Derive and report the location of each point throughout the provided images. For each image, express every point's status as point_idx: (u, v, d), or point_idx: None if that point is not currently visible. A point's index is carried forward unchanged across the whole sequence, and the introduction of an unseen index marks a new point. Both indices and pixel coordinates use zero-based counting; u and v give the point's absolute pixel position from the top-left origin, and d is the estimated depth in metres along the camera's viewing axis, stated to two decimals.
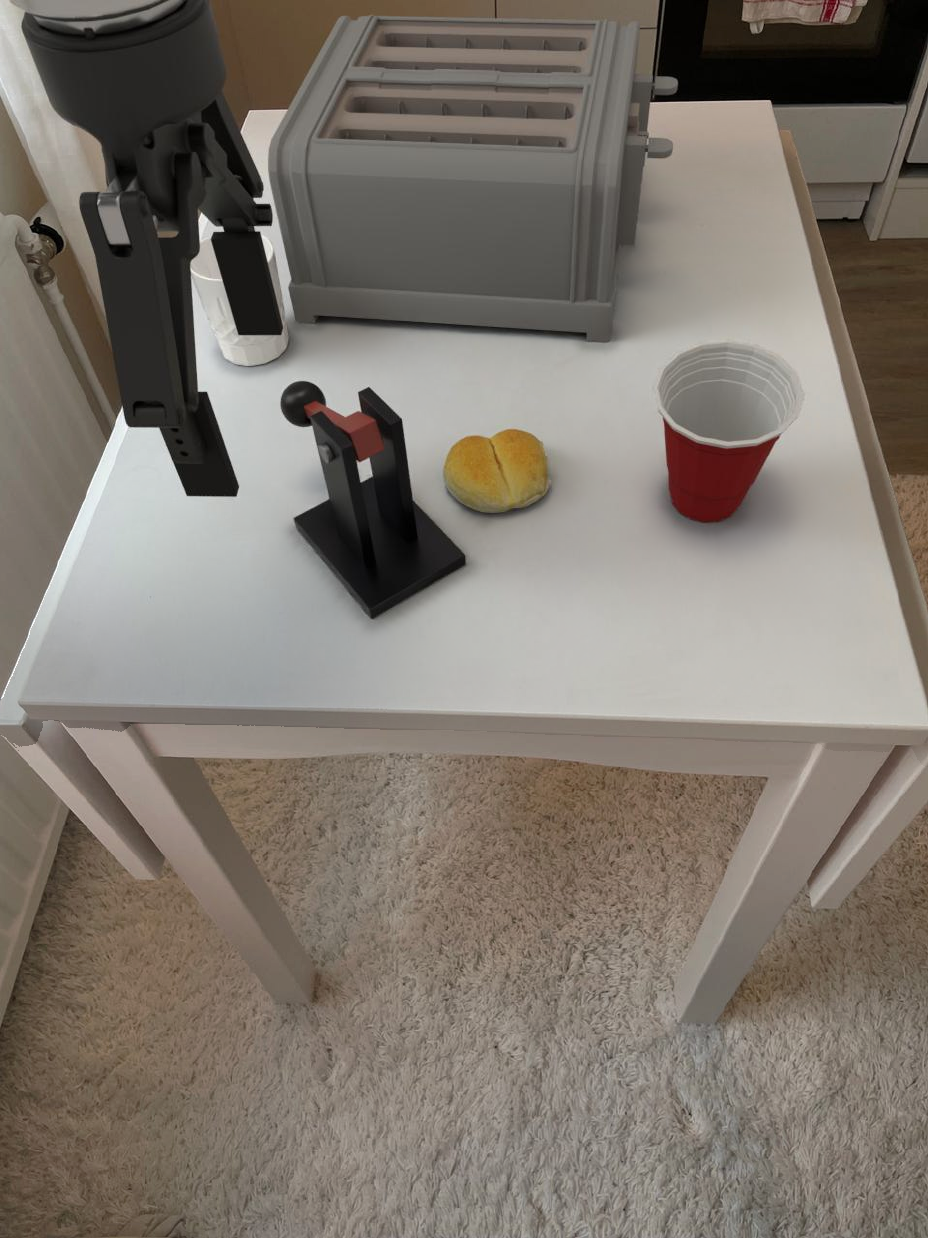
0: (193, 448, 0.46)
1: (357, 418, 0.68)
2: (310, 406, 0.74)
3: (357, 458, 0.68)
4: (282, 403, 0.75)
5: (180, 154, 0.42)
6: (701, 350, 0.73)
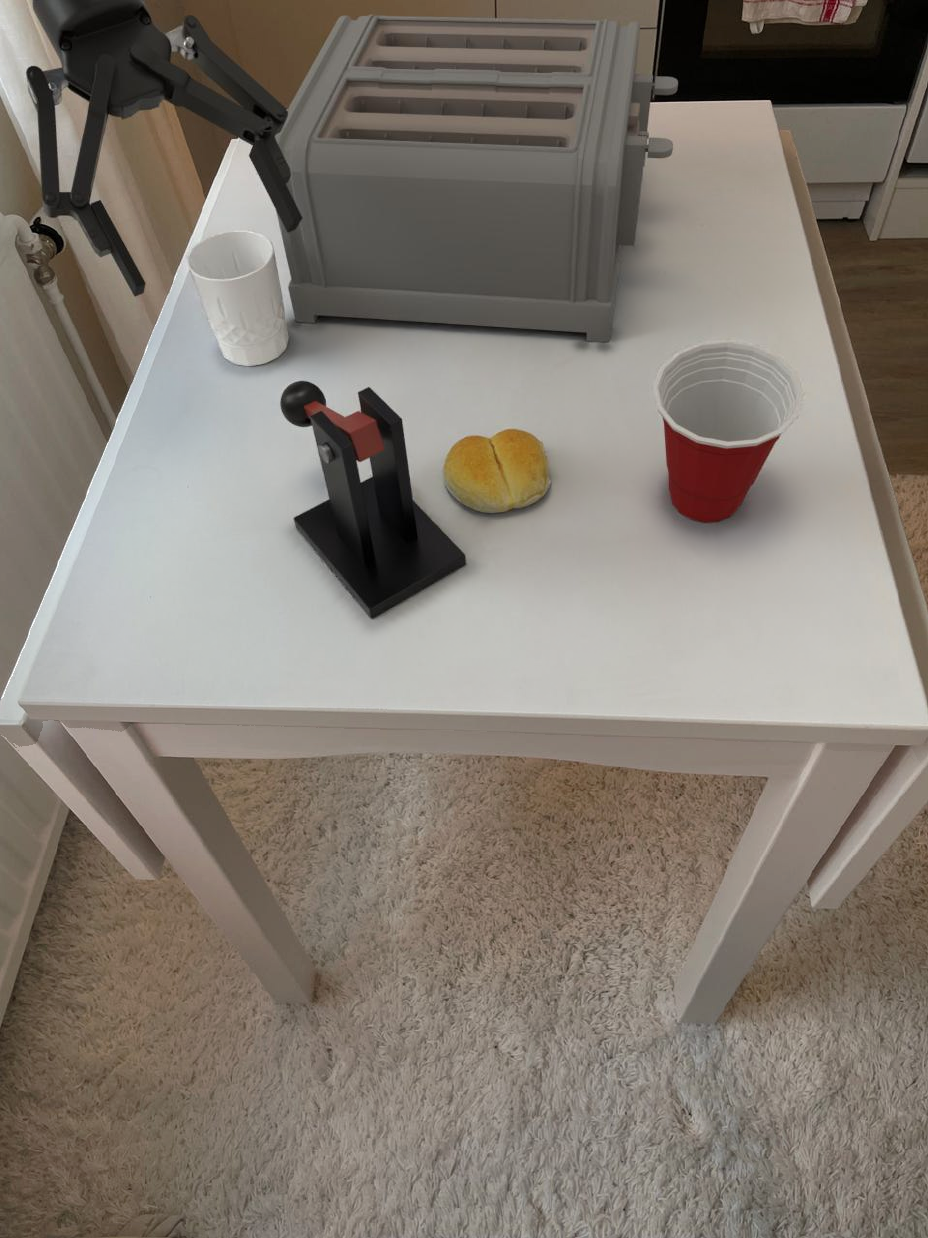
0: (90, 237, 0.71)
1: (357, 418, 0.68)
2: (310, 406, 0.74)
3: (357, 458, 0.68)
4: (282, 403, 0.75)
5: None
6: (701, 350, 0.73)
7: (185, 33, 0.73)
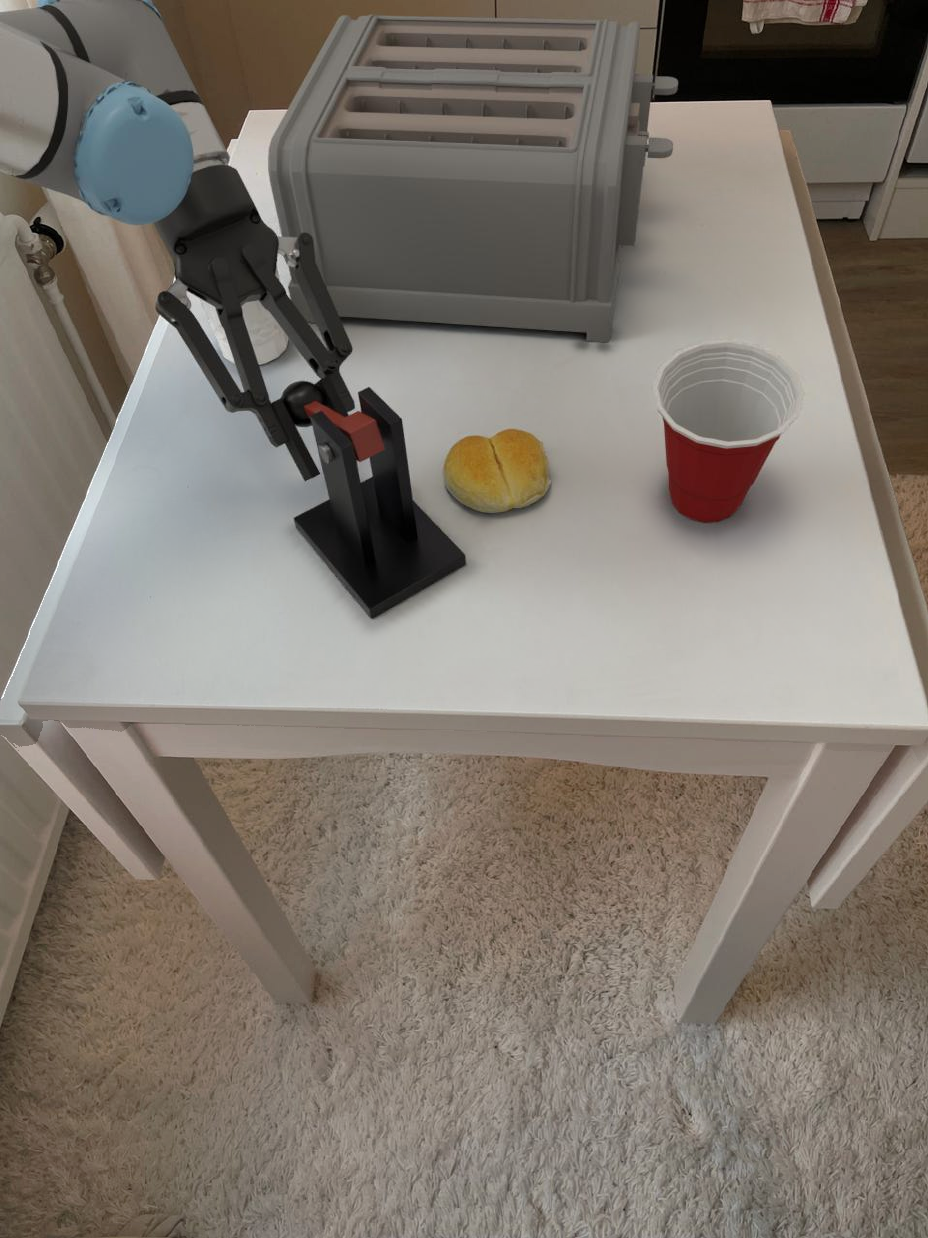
0: (269, 432, 0.74)
1: (357, 418, 0.68)
2: (310, 406, 0.74)
3: (357, 458, 0.68)
4: None
5: None
6: (701, 350, 0.73)
7: (296, 245, 0.75)
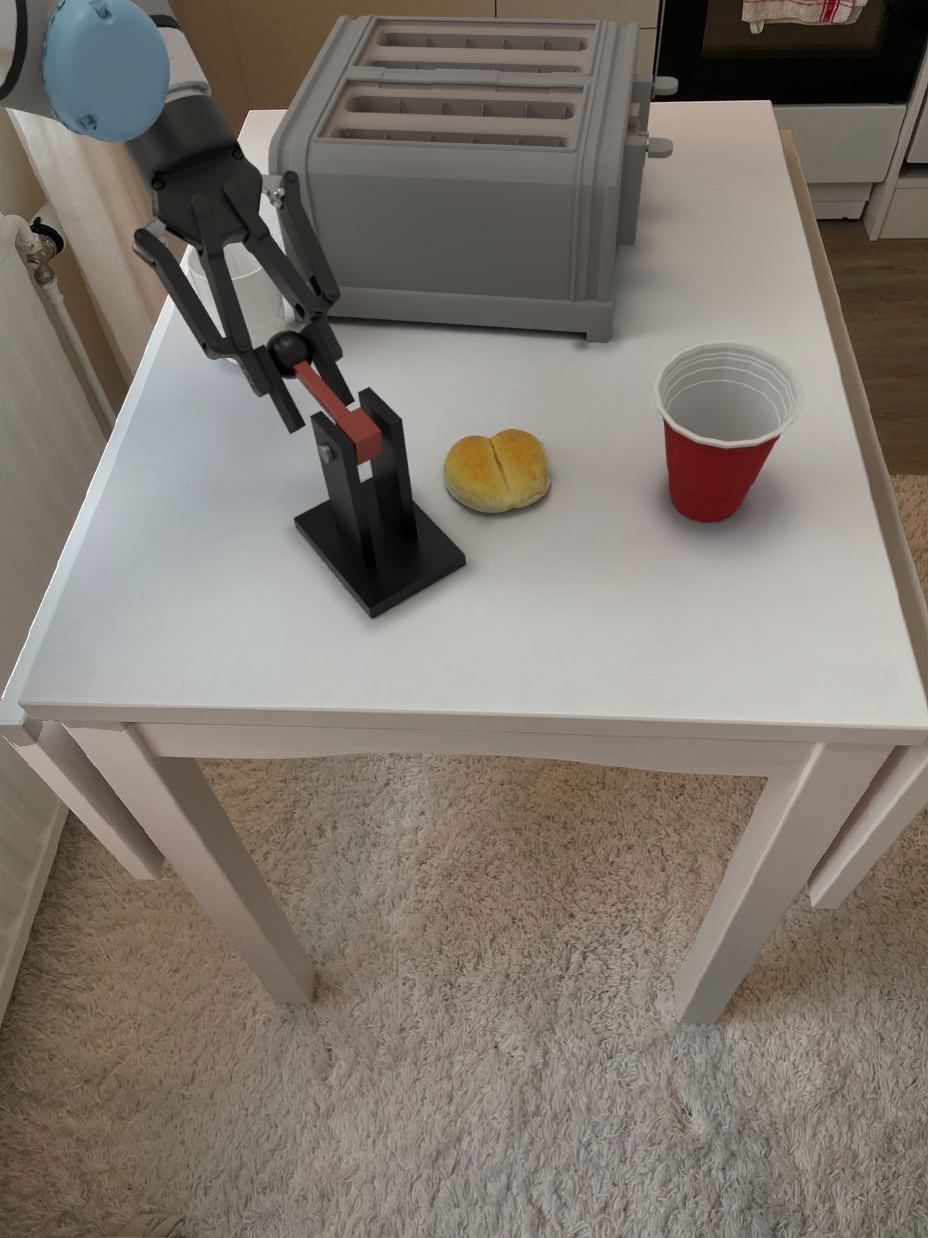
0: (252, 380, 0.71)
1: (361, 421, 0.67)
2: (300, 369, 0.71)
3: None
4: None
5: None
6: (701, 350, 0.73)
7: (281, 183, 0.71)
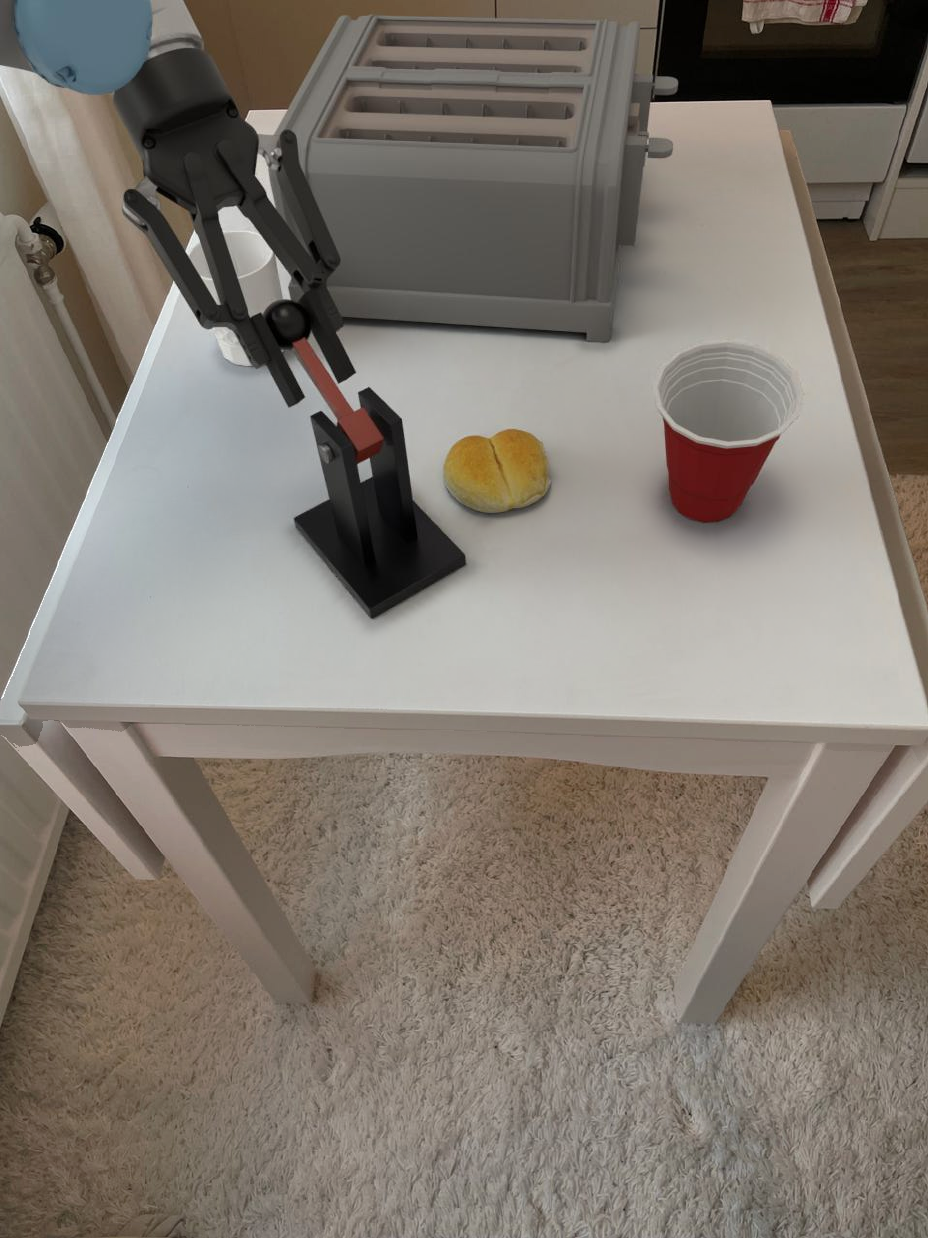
0: (249, 350, 0.67)
1: (364, 425, 0.67)
2: (300, 349, 0.69)
3: None
4: None
5: None
6: (701, 350, 0.73)
7: (278, 144, 0.68)
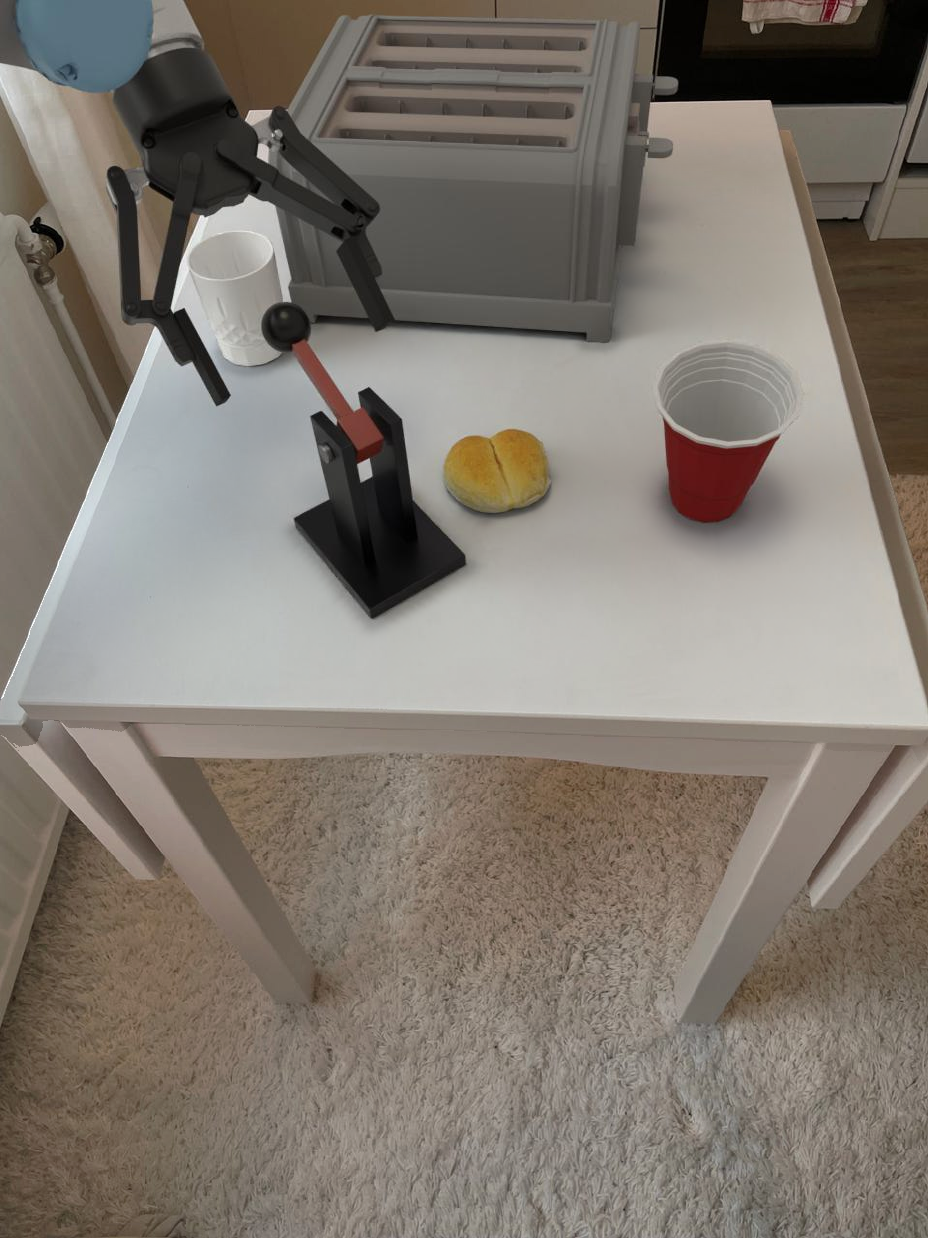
0: (172, 347, 0.66)
1: (364, 424, 0.67)
2: (299, 350, 0.69)
3: None
4: (267, 330, 0.69)
5: None
6: (701, 350, 0.73)
7: (272, 125, 0.68)
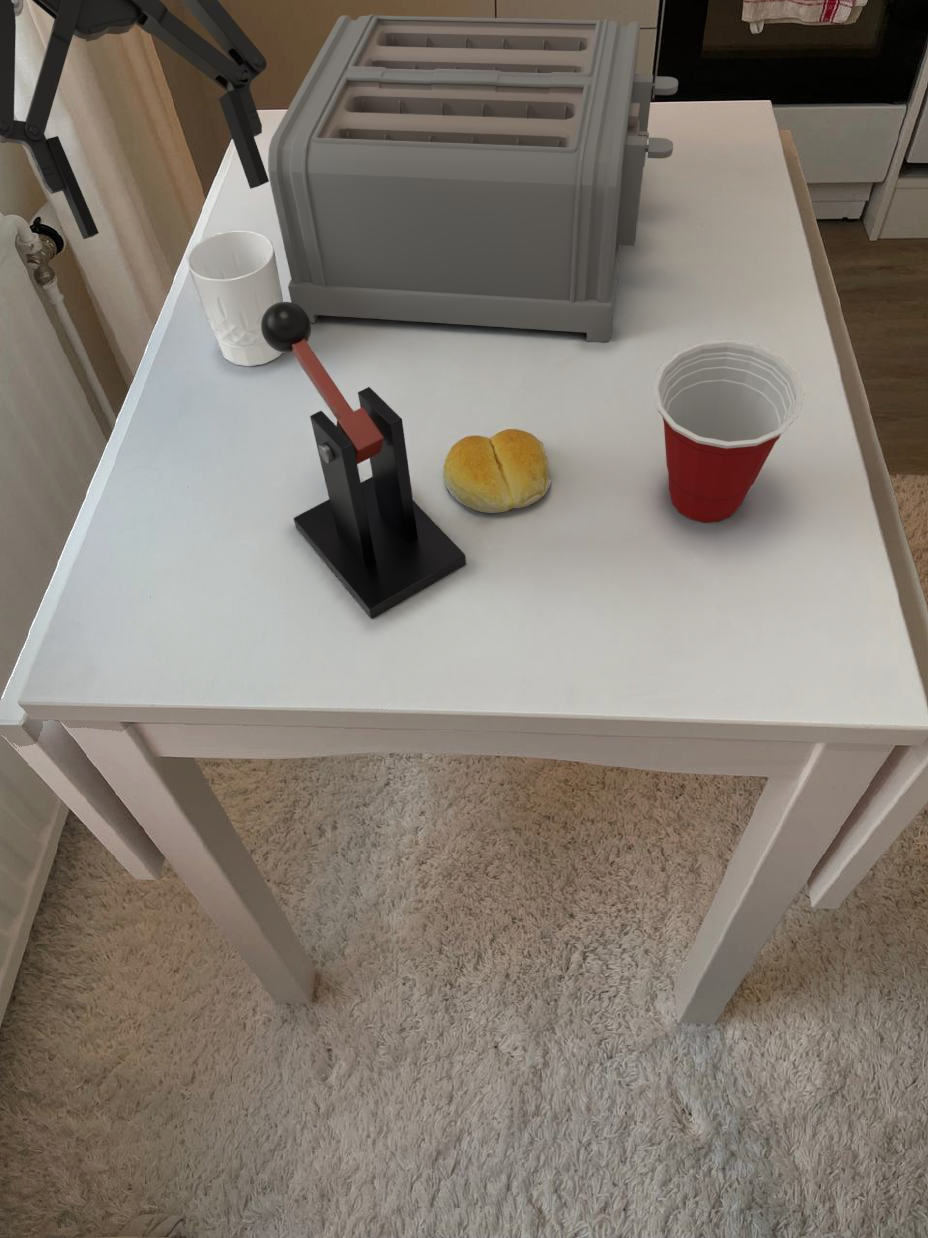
0: (42, 174, 0.67)
1: (364, 424, 0.67)
2: (299, 350, 0.69)
3: None
4: (267, 330, 0.69)
5: None
6: (701, 350, 0.73)
7: None
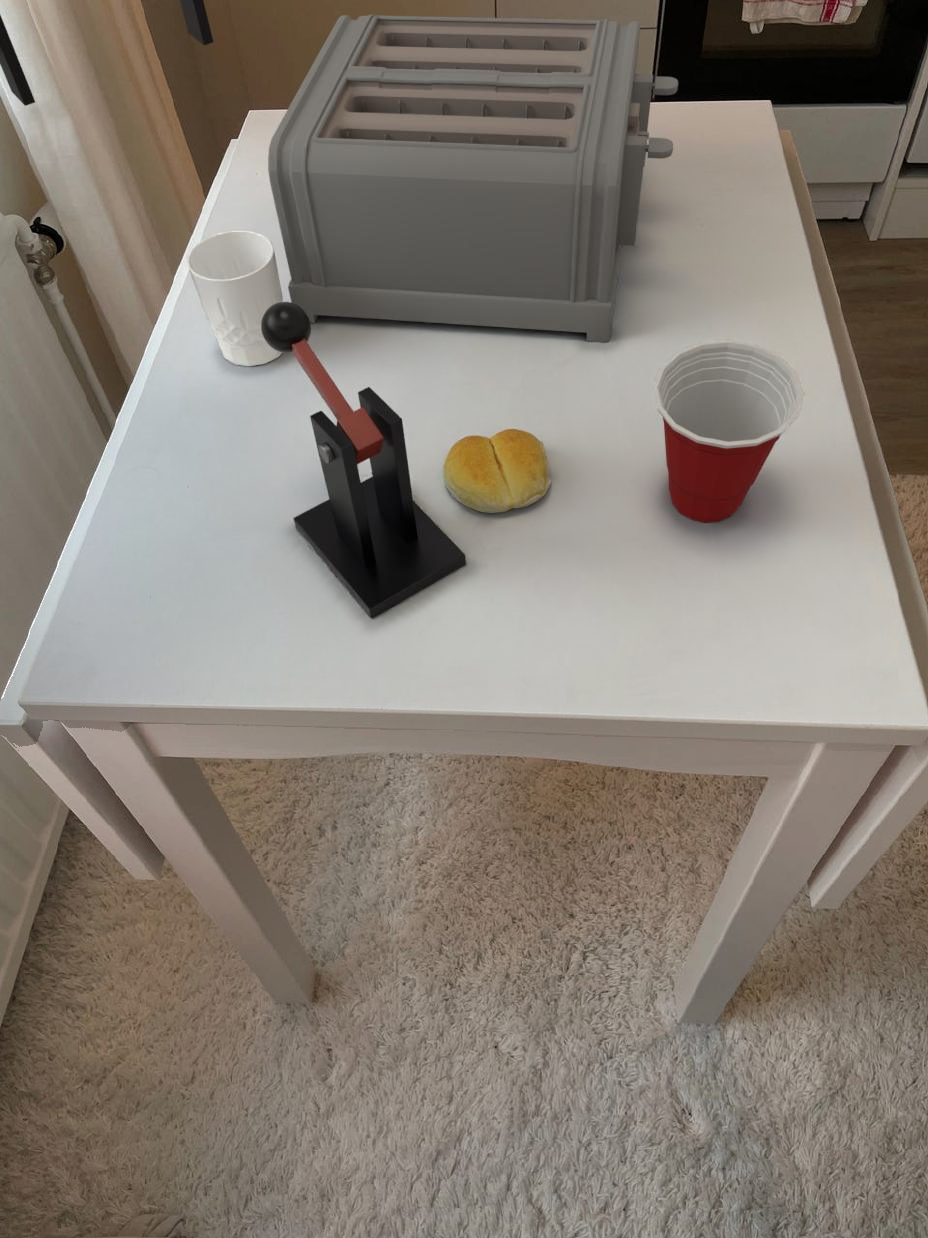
0: None
1: (364, 424, 0.67)
2: (299, 350, 0.69)
3: None
4: (267, 330, 0.69)
5: None
6: (701, 350, 0.73)
7: None
